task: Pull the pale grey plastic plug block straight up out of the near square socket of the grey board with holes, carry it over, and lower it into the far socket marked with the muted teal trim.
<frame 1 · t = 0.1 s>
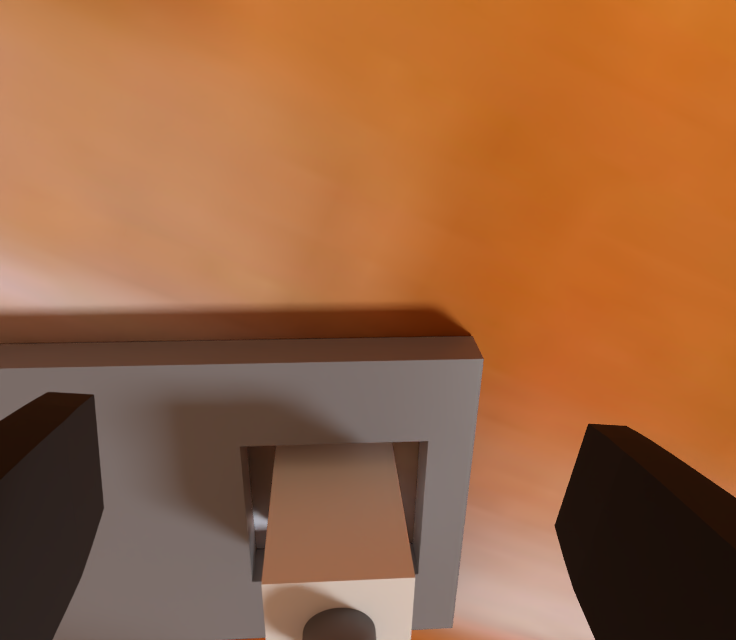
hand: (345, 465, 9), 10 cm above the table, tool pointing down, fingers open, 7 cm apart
grey board with holes: (136, 491, 21), on the table
plug: (334, 483, 22), resting in grey board with holes
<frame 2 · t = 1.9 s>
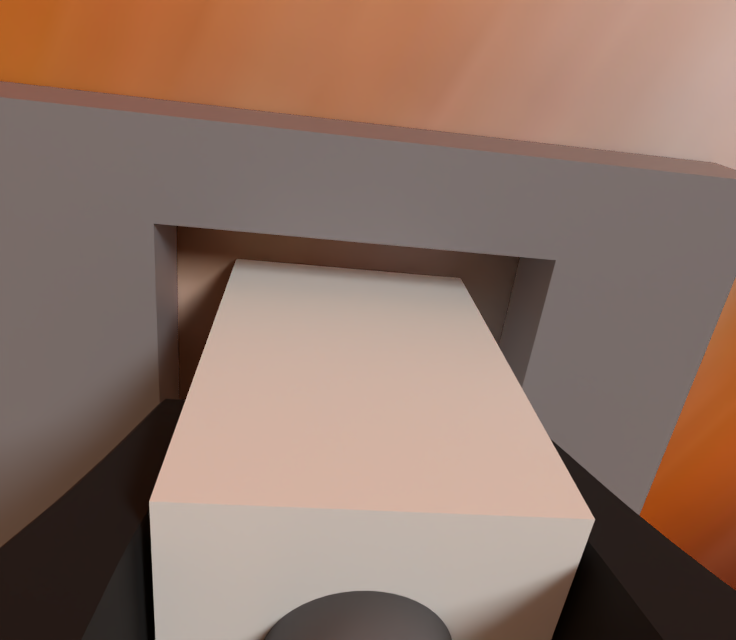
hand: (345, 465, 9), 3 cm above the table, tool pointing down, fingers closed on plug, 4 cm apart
grey board with holes: (311, 618, 15), on the table
plug: (339, 366, 12), resting in grey board with holes, touching gripper
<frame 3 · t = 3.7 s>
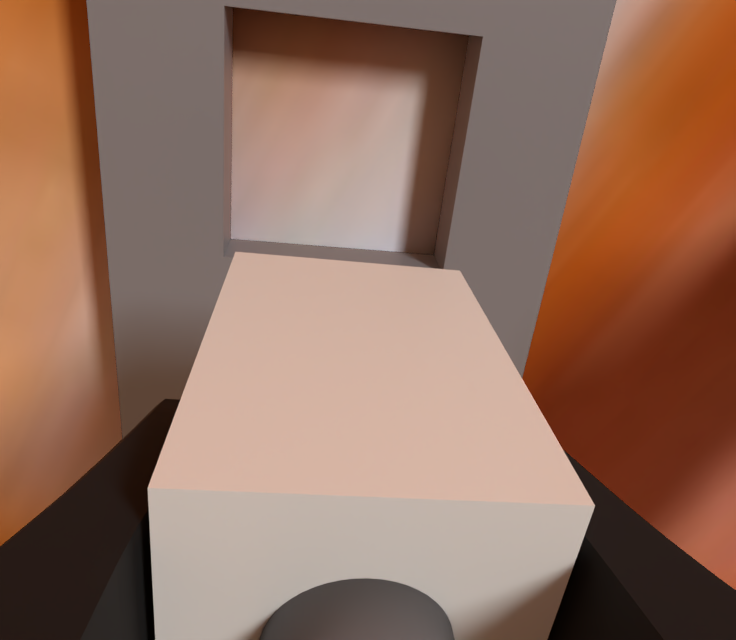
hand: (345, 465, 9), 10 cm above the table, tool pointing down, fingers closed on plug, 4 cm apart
grey board with holes: (323, 364, 20), on the table
plug: (339, 359, 12), point 7 cm above the table, touching gripper
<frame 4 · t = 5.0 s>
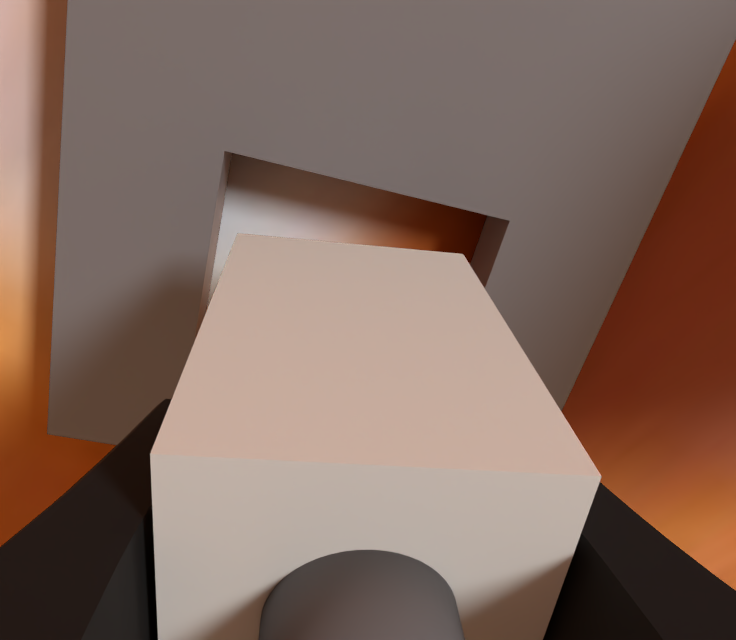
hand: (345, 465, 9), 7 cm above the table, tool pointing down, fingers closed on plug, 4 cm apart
plug: (341, 343, 12), point 4 cm above the table, touching gripper
when the fingers open (4 cm above the table, at t = 5.9 s): plug stays where it is, resting in grey board with holes.
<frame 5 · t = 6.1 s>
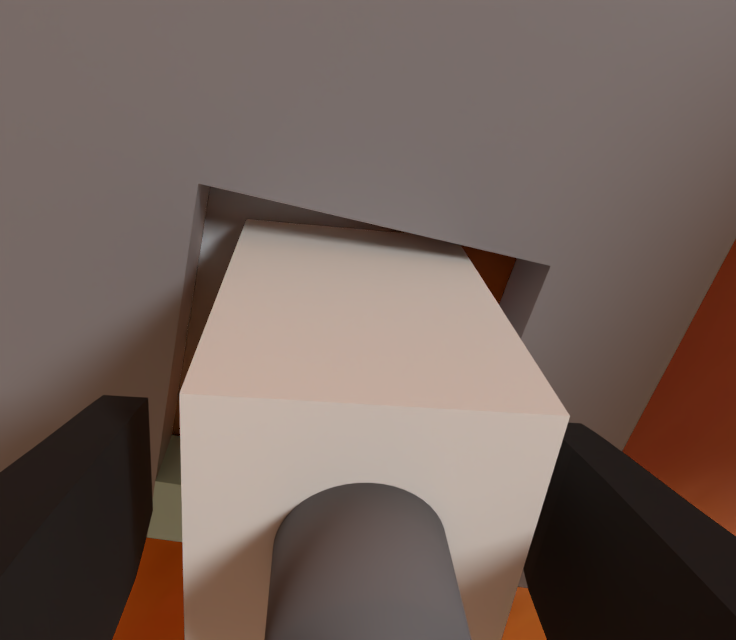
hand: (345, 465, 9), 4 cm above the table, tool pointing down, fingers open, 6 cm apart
plug: (343, 322, 12), resting in grey board with holes
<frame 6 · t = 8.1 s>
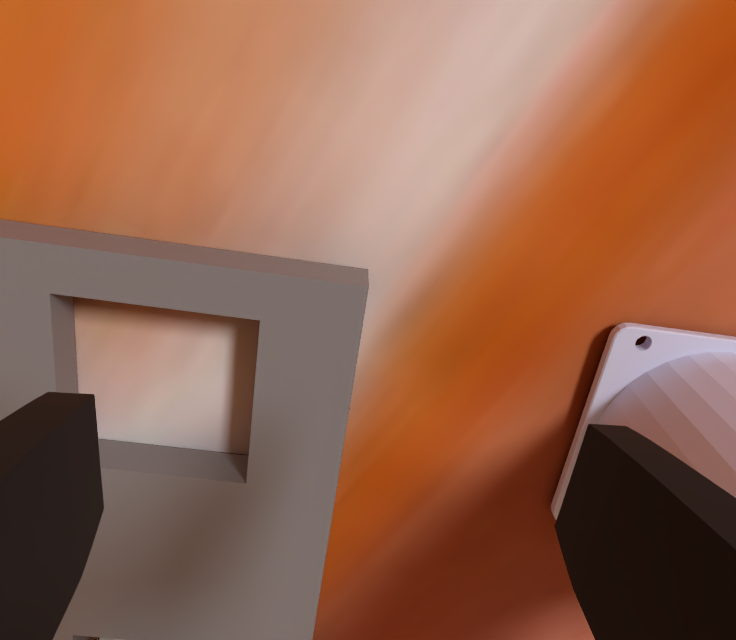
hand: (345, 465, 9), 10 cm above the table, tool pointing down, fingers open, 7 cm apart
grey board with holes: (166, 533, 23), on the table
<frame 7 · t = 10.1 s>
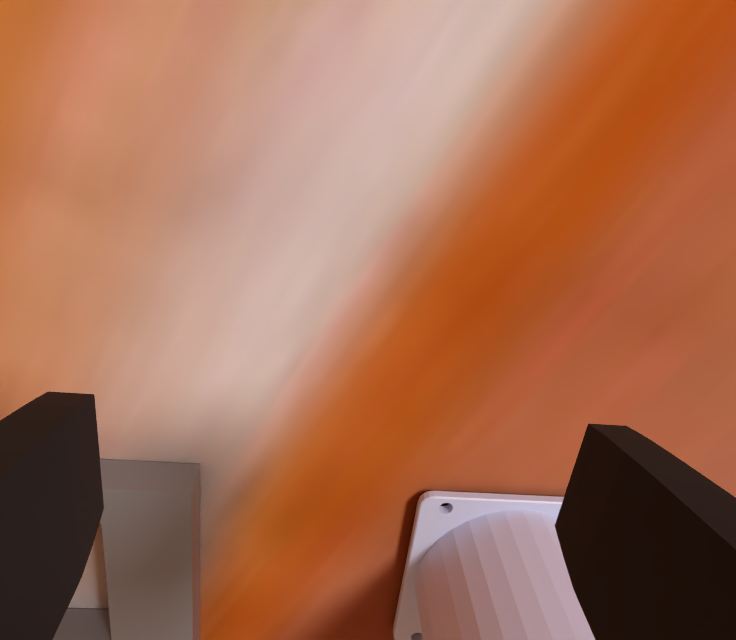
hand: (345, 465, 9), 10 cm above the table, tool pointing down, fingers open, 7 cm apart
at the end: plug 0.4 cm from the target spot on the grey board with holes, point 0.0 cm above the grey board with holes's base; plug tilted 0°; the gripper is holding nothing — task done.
